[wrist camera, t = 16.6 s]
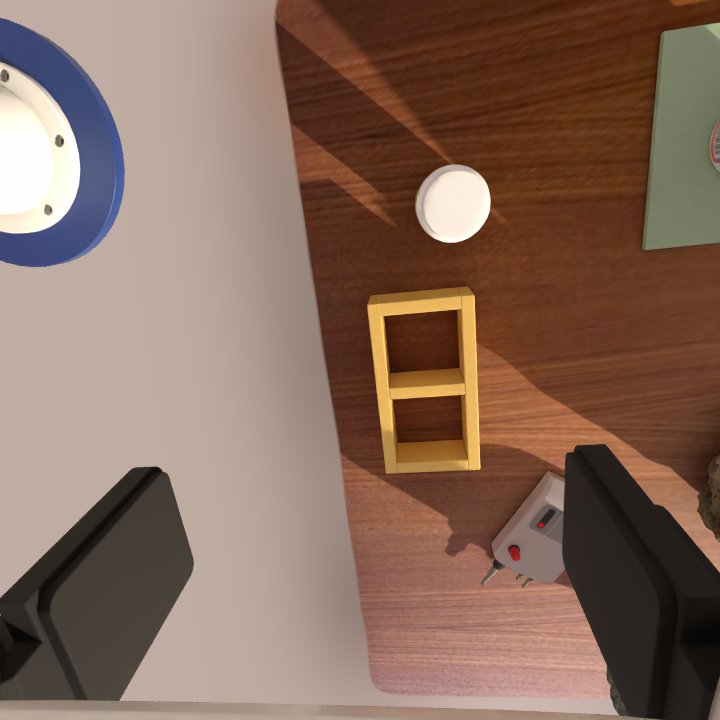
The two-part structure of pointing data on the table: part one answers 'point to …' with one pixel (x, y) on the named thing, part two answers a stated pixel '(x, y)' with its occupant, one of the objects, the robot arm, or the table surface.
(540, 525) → the grey electronic device
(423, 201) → the supplement bottle
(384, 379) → the bottle holder
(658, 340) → the table surface
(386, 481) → the table surface
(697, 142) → the mat
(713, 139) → the pill bottle
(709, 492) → the mineral specimen
